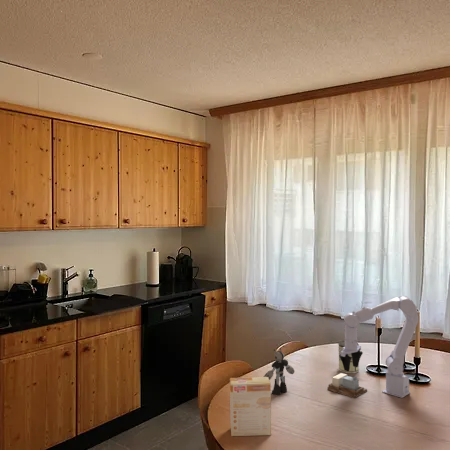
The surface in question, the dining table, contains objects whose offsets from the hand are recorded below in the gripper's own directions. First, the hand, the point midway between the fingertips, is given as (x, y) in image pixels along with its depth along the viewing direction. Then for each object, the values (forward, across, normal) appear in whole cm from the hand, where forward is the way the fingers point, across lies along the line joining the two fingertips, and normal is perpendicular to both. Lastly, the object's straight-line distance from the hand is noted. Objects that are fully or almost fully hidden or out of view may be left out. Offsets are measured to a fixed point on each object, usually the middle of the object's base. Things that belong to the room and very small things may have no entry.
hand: (351, 368), depth 208 cm
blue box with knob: (+9, +2, +1) cm, 9 cm away
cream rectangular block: (+9, +2, -5) cm, 10 cm away
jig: (+10, +2, -1) cm, 10 cm away
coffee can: (+10, -23, -16) cm, 30 cm away
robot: (+10, +26, -22) cm, 35 cm away
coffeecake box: (+10, +63, -5) cm, 64 cm away
